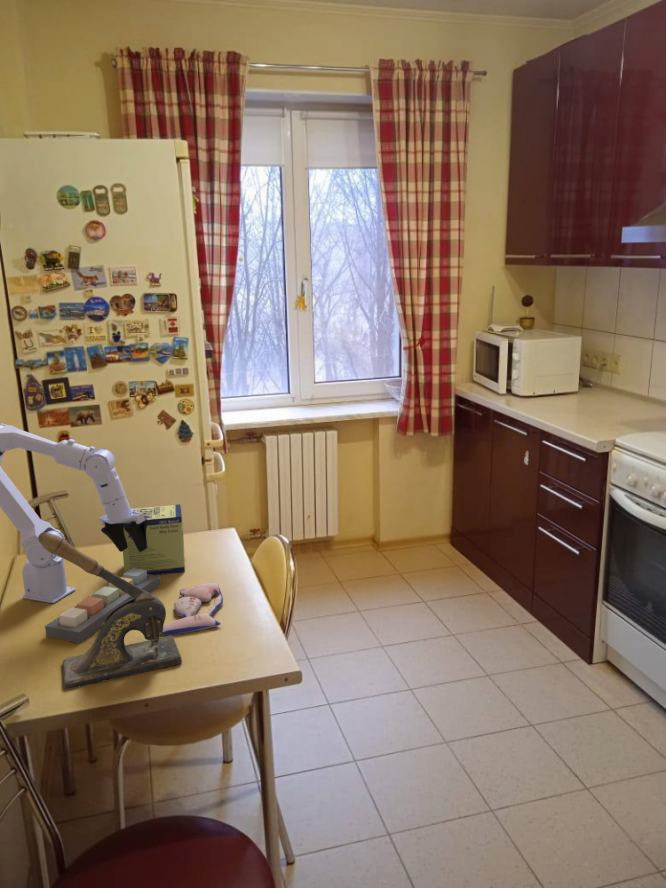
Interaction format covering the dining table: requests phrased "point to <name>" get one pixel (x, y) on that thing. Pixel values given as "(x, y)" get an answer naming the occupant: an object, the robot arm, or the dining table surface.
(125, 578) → the key ochre
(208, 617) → the anatomical model
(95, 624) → the keypad board
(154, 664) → the embossing press
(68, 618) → the key ivory
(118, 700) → the dining table surface
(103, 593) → the key sage
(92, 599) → the key terracotta
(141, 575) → the key blue
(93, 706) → the dining table surface
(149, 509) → the protein powder box
